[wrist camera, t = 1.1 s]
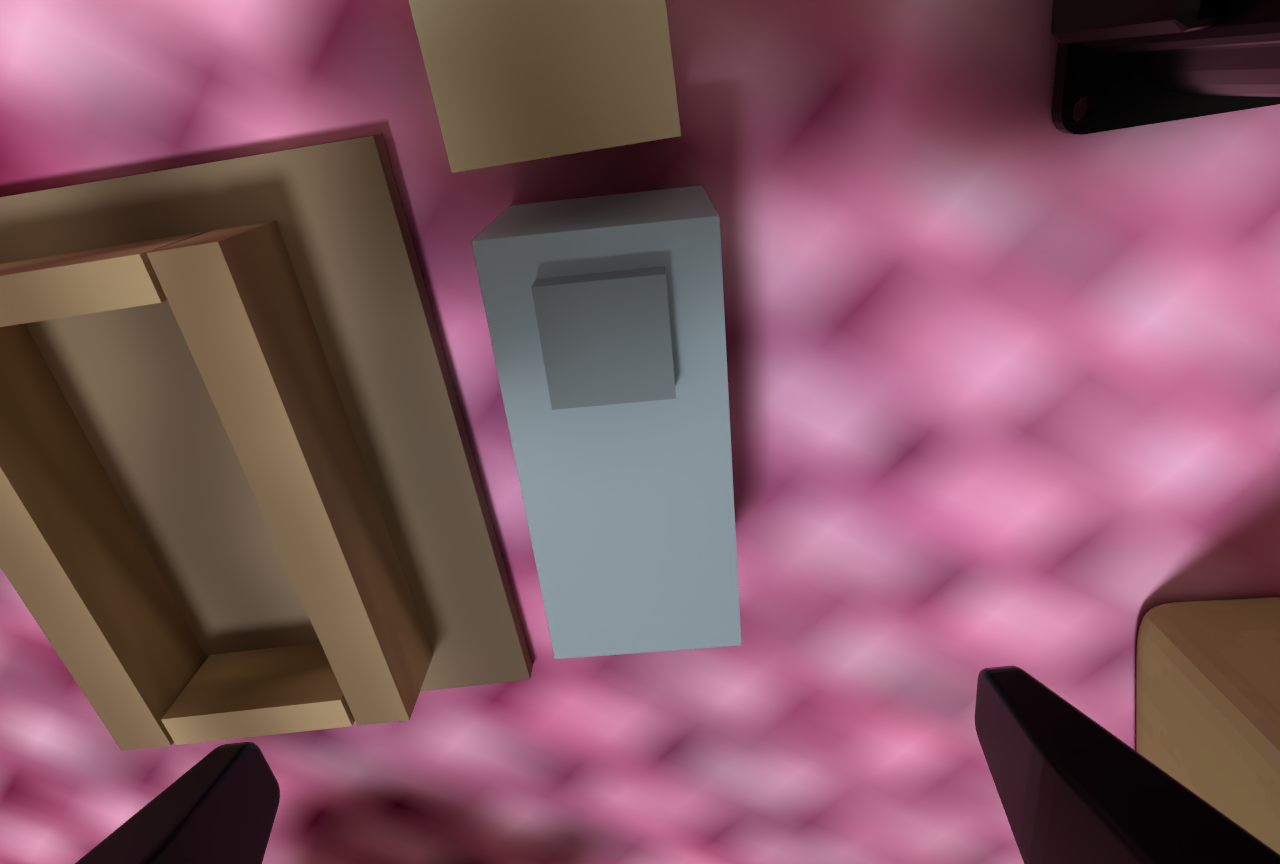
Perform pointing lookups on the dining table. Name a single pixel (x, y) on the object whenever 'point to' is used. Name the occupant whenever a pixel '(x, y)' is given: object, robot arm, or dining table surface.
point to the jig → (241, 452)
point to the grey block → (619, 414)
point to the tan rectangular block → (546, 76)
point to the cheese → (1215, 704)
